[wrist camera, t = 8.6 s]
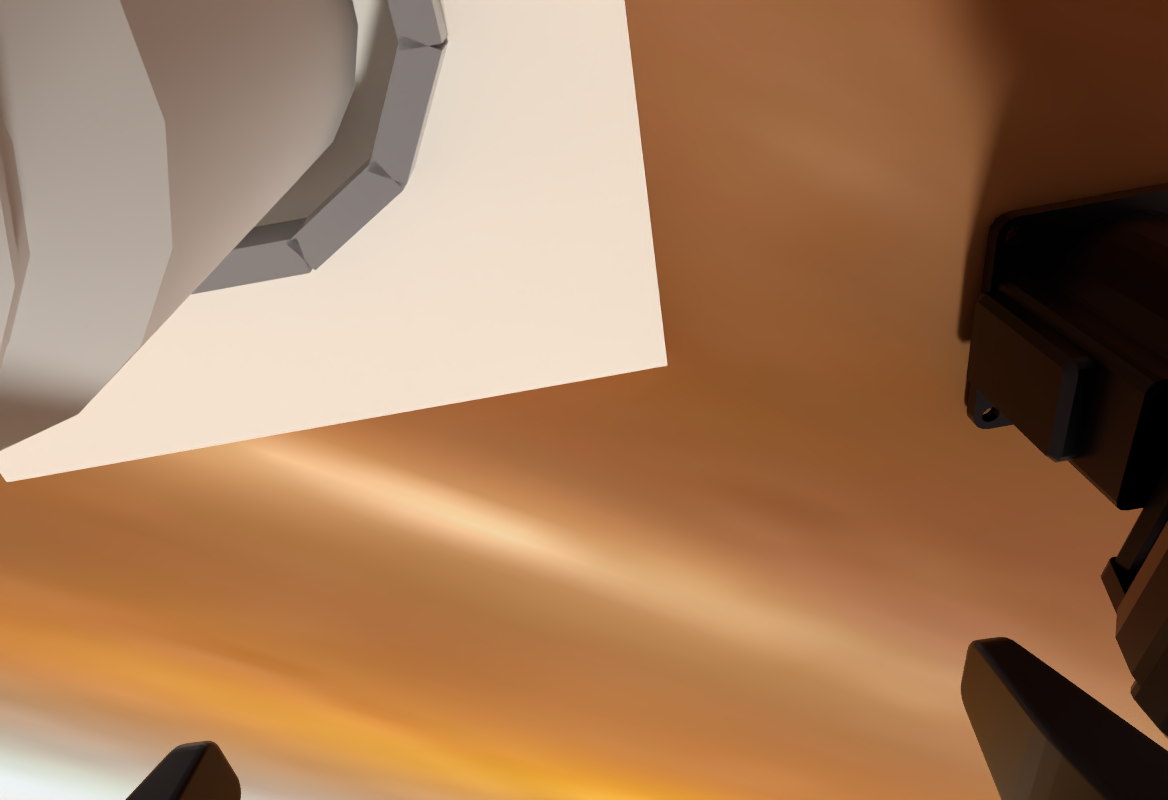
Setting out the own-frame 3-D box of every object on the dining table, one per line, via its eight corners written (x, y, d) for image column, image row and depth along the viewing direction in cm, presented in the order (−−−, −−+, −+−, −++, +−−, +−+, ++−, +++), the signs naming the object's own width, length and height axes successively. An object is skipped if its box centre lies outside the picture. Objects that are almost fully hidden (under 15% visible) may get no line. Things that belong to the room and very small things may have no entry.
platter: (510, -904, 11) (508, -1114, 9) (661, 348, 21) (677, 394, 19) (-716, -647, 11) (-1011, -788, 9) (27, 460, 21) (-28, 518, 19)
